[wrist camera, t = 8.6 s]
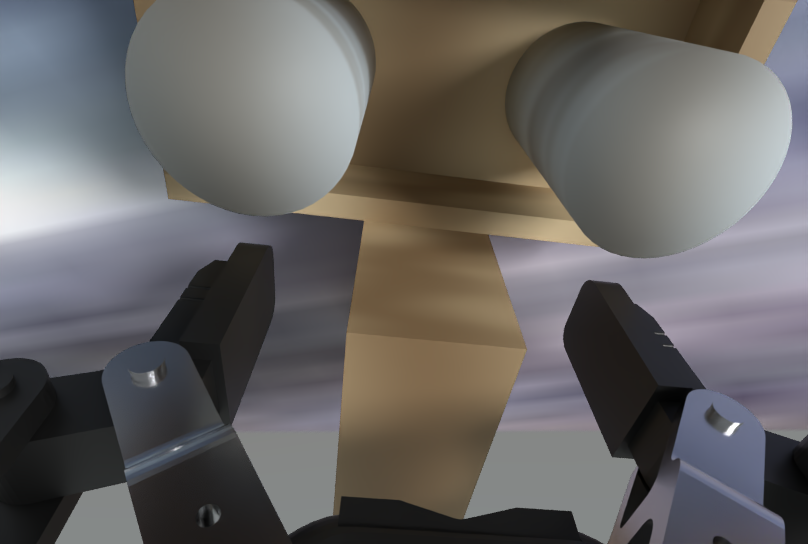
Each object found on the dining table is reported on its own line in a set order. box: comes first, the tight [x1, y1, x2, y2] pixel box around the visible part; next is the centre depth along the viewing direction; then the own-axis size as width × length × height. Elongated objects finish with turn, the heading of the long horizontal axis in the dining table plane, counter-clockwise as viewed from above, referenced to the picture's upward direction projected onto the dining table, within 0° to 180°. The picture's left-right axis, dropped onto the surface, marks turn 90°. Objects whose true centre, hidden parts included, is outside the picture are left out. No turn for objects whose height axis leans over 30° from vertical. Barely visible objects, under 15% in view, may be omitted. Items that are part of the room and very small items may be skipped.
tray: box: [125, 0, 798, 519], centre depth 10 cm, size 12×12×7 cm
